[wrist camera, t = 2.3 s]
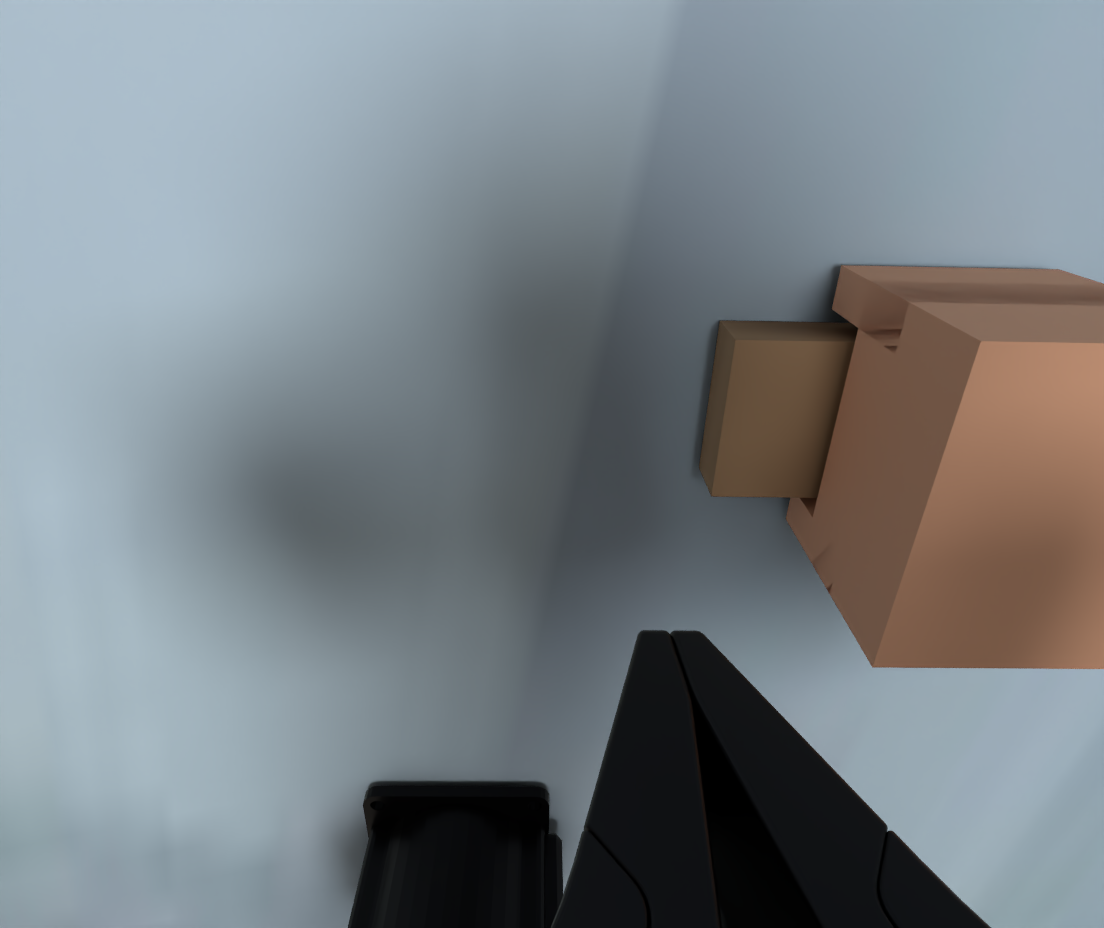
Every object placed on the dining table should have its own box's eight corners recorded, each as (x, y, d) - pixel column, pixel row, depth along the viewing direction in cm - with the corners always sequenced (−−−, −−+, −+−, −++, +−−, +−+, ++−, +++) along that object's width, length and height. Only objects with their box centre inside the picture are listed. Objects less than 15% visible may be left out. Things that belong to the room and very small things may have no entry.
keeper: (785, 518, 18) (872, 667, 14) (841, 265, 15) (981, 341, 10) (966, 520, 19) (1116, 668, 14) (1059, 269, 15) (1298, 346, 10)
